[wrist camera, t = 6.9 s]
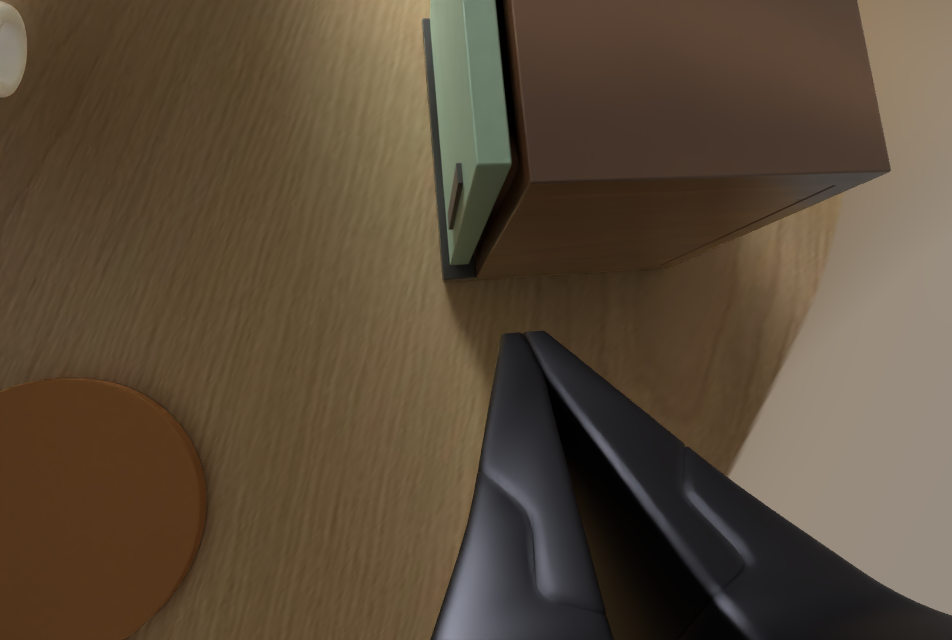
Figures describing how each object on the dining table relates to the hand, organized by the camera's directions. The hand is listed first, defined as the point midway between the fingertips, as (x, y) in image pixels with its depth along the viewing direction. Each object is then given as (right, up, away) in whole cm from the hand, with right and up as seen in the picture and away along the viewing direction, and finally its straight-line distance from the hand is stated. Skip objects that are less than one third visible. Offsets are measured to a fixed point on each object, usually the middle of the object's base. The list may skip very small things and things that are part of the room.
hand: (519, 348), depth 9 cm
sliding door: (-2, +8, +11) cm, 14 cm away
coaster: (-16, -7, +8) cm, 19 cm away
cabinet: (+3, +9, +12) cm, 15 cm away
